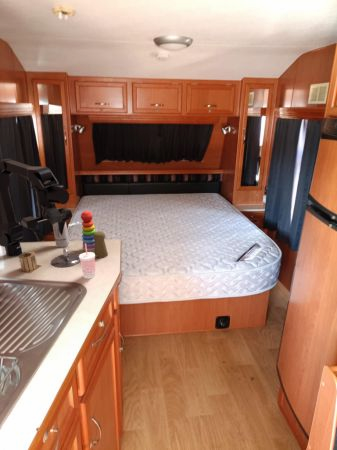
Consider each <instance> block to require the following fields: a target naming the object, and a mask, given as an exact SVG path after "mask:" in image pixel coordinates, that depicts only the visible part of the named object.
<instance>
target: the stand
mask: <svg viewBox="0 0 337 450" xmlns="http://www.w3.org/2000/svg"><path fill="white" fill-rule="evenodd" d="M37 266H38V267H37V268H36V269H35V270H33V271H29V272H24V271H22V269H21V267H20V268H18V269H17V270H16V272H21V273H25V274H30V275H31V273H34V271H36V270H38V269H39V268H41V267H42V265H41V264H37Z"/></svg>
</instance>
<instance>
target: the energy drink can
mask: <svg viewBox="0 0 337 450" xmlns="http://www.w3.org/2000/svg"><path fill="white" fill-rule="evenodd" d="M52 229H53V234H54V242H55V246H56V247H57V249H66V248H67V247H69V245H70V240H69V232H68V228H67V221H66V222H65V225H64V229H63V233H62V234H60V232H59V227H58V223H55V224H52Z"/></svg>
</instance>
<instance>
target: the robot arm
mask: <svg viewBox="0 0 337 450" xmlns="http://www.w3.org/2000/svg"><path fill="white" fill-rule="evenodd" d="M12 174H15V175H18V176H21V177H24V178H26V179H27V180H28V182H29V183H32V185H31V187H30V189H32V190H35V196H36V203H35V204H36V206H37V208H38V212H37V216H38V217H34V216H27V217H22V219H21V221H20V222H21V224H20V223H19V222H18V221H17V220H16V215H15V212H14V208H13V203H12V199H11V194H10V192H9V187H10V184H11V175H12ZM69 200H70V193H69V191H68V190H67V189H66V188H65V186H64V185H60V183H59V181H58V179H57V178H56V177H55V175H54V174H53V172H52V171H51V168H49V167H47V166H41V165H40V166H32V165H29V164H25V163H22V162H19V161H16V160H14V159H12V158H6V159H1V160H0V216H1V218H2V222H3V223H2V226H1V229H0V232H1V237H0V246H1V247H3V248H4V250H5V254H6V255H7V257H10V258H12V257H19V255H20V254H22V253H23V249H22V246H21V243H20V242H23V241H24V236H25V234H24V233H25V231H24V228H26V229H27V230H31V231H32V233H33V234H34V235H35V237H36V239H37V240H38V242H41V241H42V240H41V239H42V238H41V235H40V226H39V223H41V222H45V221H48V223H49V224H50V225H53V224H55V223H58V227H59V232H60V234H62V233H63V229H64V225H65V222H66V223H67V221H68V220H70V219H71V218H72V217H73V211H72V210H71V209H69V208H67V207H59V208H57V207H56V204H59V205H66V204H67V203H68V202H69Z"/></svg>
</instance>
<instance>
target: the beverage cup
mask: <svg viewBox="0 0 337 450" xmlns="http://www.w3.org/2000/svg"><path fill="white" fill-rule="evenodd" d="M85 249H86V251H84V252H83V253H80V254H78V255H79V259H80V261H81V262H80V266H81V271H82V274H83V275H82V276H83V278H84V279H86V278H90V279H93V278H95V277H96V261H95V260H96V259H95V257H96V255H95V253H94V252H87V246H86V243H85Z"/></svg>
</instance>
